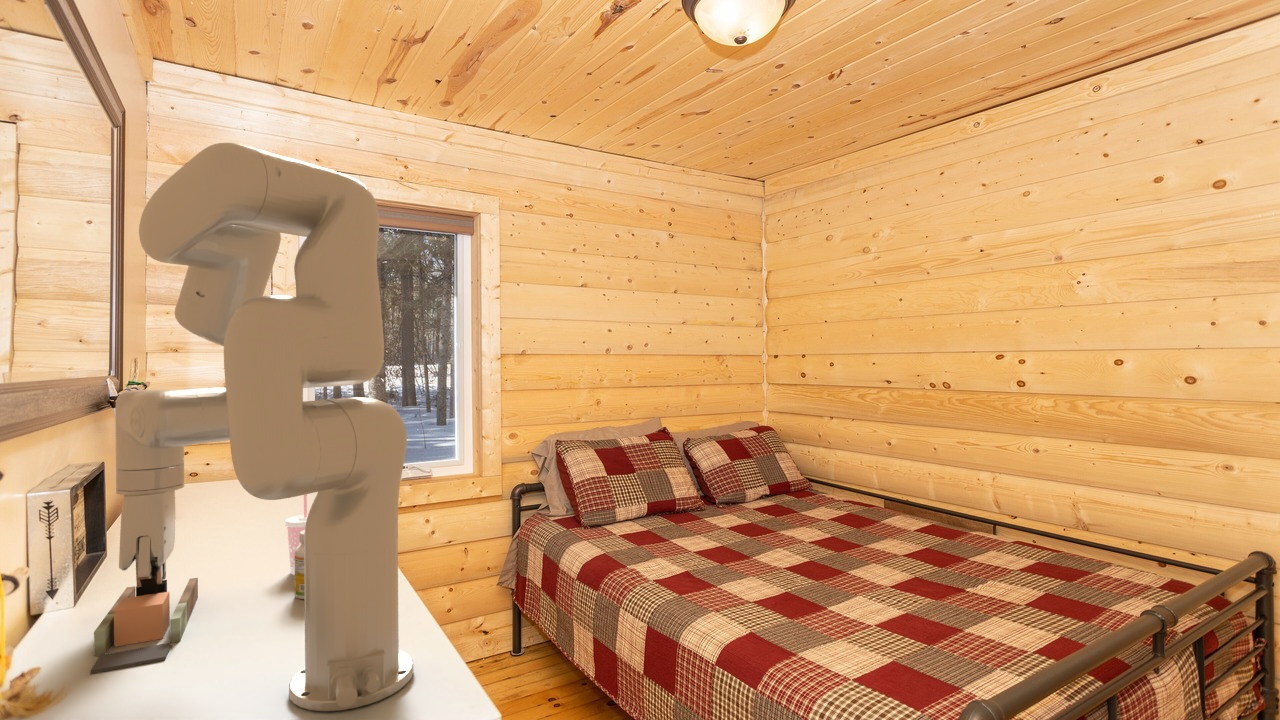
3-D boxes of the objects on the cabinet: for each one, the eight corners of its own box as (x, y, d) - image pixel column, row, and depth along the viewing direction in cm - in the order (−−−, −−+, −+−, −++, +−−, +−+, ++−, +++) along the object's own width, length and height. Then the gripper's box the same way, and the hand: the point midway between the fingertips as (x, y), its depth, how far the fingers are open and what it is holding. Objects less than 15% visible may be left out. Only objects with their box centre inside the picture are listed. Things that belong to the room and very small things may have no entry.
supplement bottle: (326, 585, 104) (326, 524, 104) (339, 593, 100) (338, 530, 100) (290, 593, 100) (289, 530, 100) (301, 603, 96) (300, 537, 96)
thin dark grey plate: (165, 660, 78) (165, 656, 78) (90, 673, 75) (90, 670, 75) (171, 645, 82) (171, 642, 82) (100, 658, 79) (100, 654, 79)
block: (162, 638, 84) (162, 603, 84) (114, 646, 82) (113, 611, 82) (169, 624, 88) (169, 591, 88) (123, 632, 86) (123, 598, 86)
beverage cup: (325, 573, 109) (325, 490, 109) (284, 578, 107) (283, 493, 107) (325, 562, 115) (325, 484, 115) (286, 568, 112) (285, 487, 112)
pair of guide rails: (180, 641, 83) (179, 617, 83) (94, 656, 79) (94, 631, 79) (197, 597, 99) (197, 577, 99) (126, 608, 95) (126, 587, 94)
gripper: (129, 473, 94) (130, 599, 94) (101, 491, 81) (102, 638, 81) (191, 468, 98) (192, 590, 98) (175, 486, 84) (176, 626, 85)
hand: (151, 611), depth 89 cm, fingers closed
